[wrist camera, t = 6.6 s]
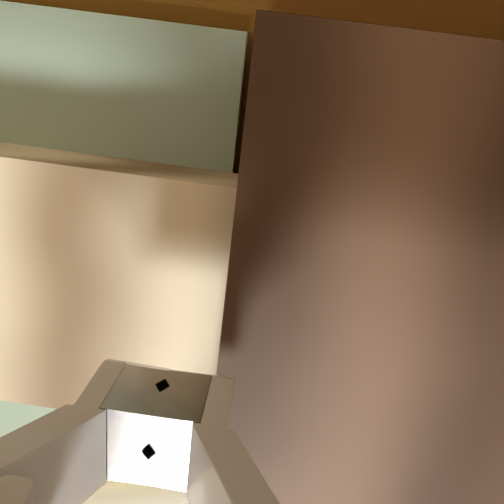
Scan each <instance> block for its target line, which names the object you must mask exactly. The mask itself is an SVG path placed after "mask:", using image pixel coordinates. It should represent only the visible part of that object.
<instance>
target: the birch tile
mask: <svg viewBox="0 0 504 504" xmlns="http://www.w3.org/2000/svg"><path fill="white" fill-rule="evenodd" d="M237 183H238V173H231V172H223V171H216V170H208V169H201V168H193V167H185V166H178V165H170V164H163V163H155V162H148V161H140V160H132V159H125V158H117V157H110V156H102V155H95V154H87V153H79V152H72V151H64V150H57V149H49V148H42V147H34V146H26V145H19V144H11V143H4V142H0V400H1V401H8V402H14V403H21V404H28V405H34V406H41V407H48V408H54V409H58V408H60V407H62V406H64V405H66V404H69V405H74V403H75V402H76V400H77V399H78V397H79V396H80V394H81V393H82V391H83V390H84V388H85V387H86V386H87V384H88V383H89V381H90V380H91V378H92V377H93V375H94V374H95V372H96V371H97V369H98V368H99V366H100V365H101V364H102V362H103V361H104V360H106V359H113V360H120V361H126V362H133V363H139V364H145V365H151V366H157V367H163V368H169V369H173V370H180V371H187V372H194V373H201V374H209V375H214V374H215V375H216V373H217V364H218V355H219V346H220V337H221V328H222V319H223V310H224V301H225V292H226V283H227V274H228V265H229V256H230V247H231V238H232V229H233V219H234V210H235V201H236V192H237Z"/></svg>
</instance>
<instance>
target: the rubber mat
mask: <svg viewBox="0 0 504 504" xmlns="http://www.w3.org/2000/svg"><path fill="white" fill-rule="evenodd" d="M247 42H248V32H246V31H238V30H230V29H222V28H214V27H206V26H198V25H191V24H183V23H175V22H167V21H159V20H151V19H143V18H135V17H127V16H119V15H112V14H104V13H96V12H88V11H80V10H72V9H64V8H56V7H48V6H40V5H33V4H25V3H17V2H9V1H1V0H0V142H4V143H11V144H19V145H26V146H34V147H42V148H49V149H57V150H64V151H72V152H79V153H87V154H95V155H102V156H110V157H117V158H125V159H132V160H140V161H148V162H155V163H163V164H170V165H178V166H185V167H193V168H201V169H208V170H216V171H223V172H231V173H234V164H235V155H236V145H237V136H238V126H239V117H240V107H241V98H242V89H243V79H244V70H245V60H246V51H247ZM54 410H56V409H54V408H48V407H41V406H34V405H28V404H21V403H14V402H8V401H1V400H0V437H2V436H4V435H6V434H8V433H10V432H12V431H14V430H16V429H18V428H20V427H22V426H24V425H26V424H28V423H30V422H32V421H34V420H36V419H38V418H40V417H42V416H44V415H46V414H48V413H50V412H52V411H54Z"/></svg>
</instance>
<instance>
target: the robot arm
mask: <svg viewBox="0 0 504 504" xmlns="http://www.w3.org/2000/svg"><path fill="white" fill-rule="evenodd" d="M234 384H235V378H234V377H232V376H223V375H215V374H214V375H209V374H201V373H194V372H187V371H180V370H173V369H169V368H163V367H157V366H151V365H145V364H139V363H133V362H126V361H120V360H113V359H106V360H104V361H103V362H102V364H101V365H100V366H99V368H98V369H97V371H96V372H95V374H94V375H93V377H92V378H91V380H90V381H89V383H88V384H87V386H86V387H85V388H84V390H83V391H82V393H81V394H80V396H79V397H78V399H77V400H76V402H75V403H74V405H69V404H66V405H64V406H62V407H60V408H58V409H56V410H54V411H52V412H50V413H48V414H46V415H44V416H42V417H40V418H38V419H36V420H34V421H32V422H30V423H28V424H26V425H24V426H22V427H20V428H18V429H16V430H14V431H12V432H10V433H8V434H6V435H4V436H2V437H0V504H82V503H83V502H84V501H85V500H87V499H88V498H89V497H90V496H91V495H92V494H94V493H95V492H96V491H97V490H98V489H99V488H101V487H102V486H103V485H104V484H105V483H106V480H109V481H118V482H126V483H134V484H142V485H149V486H155V487H160V488H166V489H171V490H177V491H182V492H186V496H187V499H188V502H189V504H280V503H279V502H278V500H277V498H276V497H275V495H274V493H273V492H272V490H271V489H270V487H269V485H268V484H267V482H266V481H265V479H264V477H263V476H262V474H261V473H260V471H259V469H258V468H257V466H256V464H255V463H254V461H253V460H252V458H251V456H250V455H249V453H248V452H247V450H246V448H245V447H244V445H243V444H242V442H241V440H240V439H239V437H238V435H237V434H236V432H235V431H234V429H231V428H229V423H230V415H231V407H232V400H233V392H234Z"/></svg>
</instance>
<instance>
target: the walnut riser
mask: <svg viewBox="0 0 504 504" xmlns="http://www.w3.org/2000/svg"><path fill="white" fill-rule="evenodd" d="M216 375H223V376H232V377H234V378H235V384H234V392H233V400H232V407H231V415H230V423H229V428H231V429H234V431H235V432H236V434H237V435H238V437H239V439H240V440H241V442H242V444H243V445H244V447H245V448H246V450H247V452H248V453H249V455H250V456H251V458H252V460H253V461H254V463H255V464H256V466H257V468H258V469H259V471H260V473H261V474H262V476H263V477H264V479H265V481H266V482H267V484H268V485H269V487H270V489H271V490H272V492H273V493H274V495H275V497H276V498H277V500H278V502H279V503H280V504H504V40H497V39H489V38H481V37H473V36H465V35H457V34H449V33H441V32H433V31H424V30H417V29H408V28H400V27H392V26H384V25H376V24H368V23H360V22H352V21H344V20H336V19H328V18H320V17H312V16H304V15H296V14H288V13H280V12H272V11H264V10H257V11H256V20H255V29H254V39H253V48H252V57H251V66H250V75H249V84H248V93H247V102H246V111H245V120H244V129H243V138H242V147H241V156H240V165H239V174H238V183H237V192H236V201H235V210H234V219H233V229H232V238H231V247H230V256H229V265H228V274H227V283H226V292H225V301H224V310H223V319H222V328H221V337H220V346H219V355H218V364H217V373H216Z"/></svg>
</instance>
